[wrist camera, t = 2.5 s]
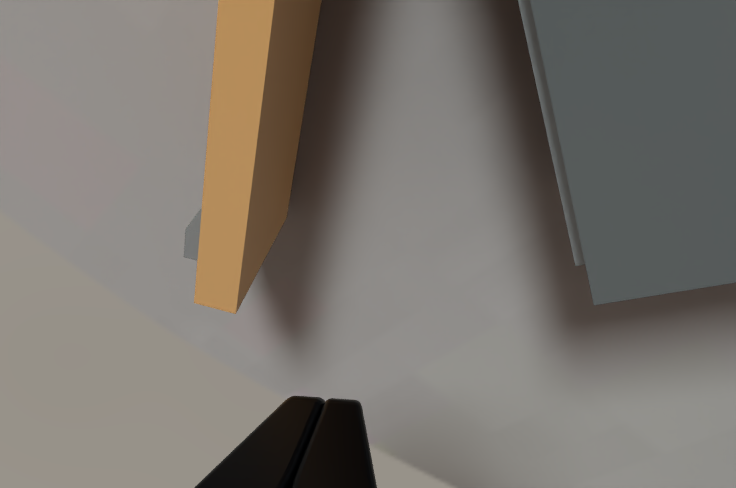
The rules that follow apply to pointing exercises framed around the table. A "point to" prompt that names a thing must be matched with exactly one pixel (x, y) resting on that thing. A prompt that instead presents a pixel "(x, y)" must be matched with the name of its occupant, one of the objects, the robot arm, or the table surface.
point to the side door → (250, 141)
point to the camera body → (641, 137)
